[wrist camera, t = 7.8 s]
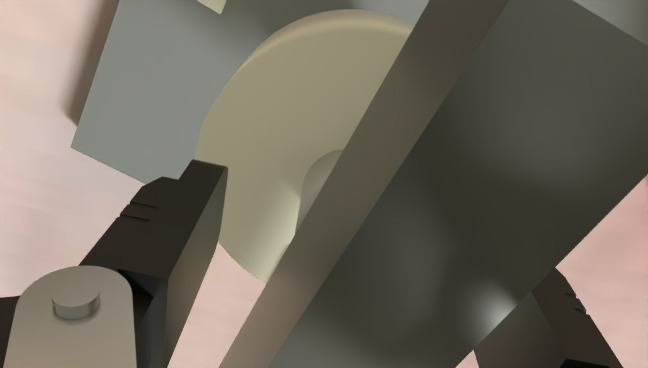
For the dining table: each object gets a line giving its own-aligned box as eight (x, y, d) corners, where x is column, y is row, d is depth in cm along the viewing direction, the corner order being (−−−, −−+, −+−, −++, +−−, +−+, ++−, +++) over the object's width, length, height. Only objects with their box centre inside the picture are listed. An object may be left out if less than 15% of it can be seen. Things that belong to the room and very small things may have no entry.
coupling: (308, -110, 11) (228, -210, 3) (569, 42, 12) (912, 206, 5) (177, 221, 16) (29, 475, 8) (373, 301, 17) (394, 575, 10)
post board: (669, -4, 19) (858, 31, 12) (396, 290, 28) (414, 409, 21) (251, -343, 15) (166, -599, 8) (85, 135, 23) (-25, 220, 16)
